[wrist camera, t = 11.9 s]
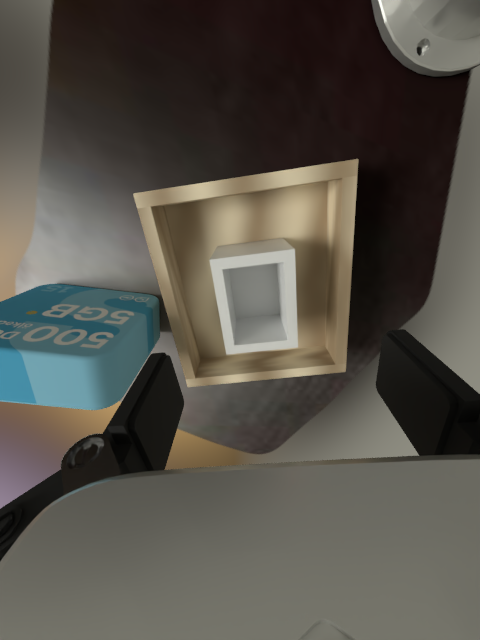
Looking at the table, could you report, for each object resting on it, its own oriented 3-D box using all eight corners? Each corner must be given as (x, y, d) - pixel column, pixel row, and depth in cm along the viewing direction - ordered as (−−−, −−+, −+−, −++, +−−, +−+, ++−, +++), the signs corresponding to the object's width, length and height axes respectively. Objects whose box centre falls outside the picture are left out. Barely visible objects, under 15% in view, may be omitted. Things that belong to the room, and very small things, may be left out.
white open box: (282, 237, 23) (294, 249, 17) (286, 317, 26) (298, 347, 21) (217, 246, 23) (209, 259, 18) (229, 323, 26) (226, 354, 21)
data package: (163, 295, 26) (106, 360, 15) (163, 332, 28) (113, 414, 17) (47, 281, 26) (-96, 339, 15) (55, 320, 28) (-65, 396, 17)
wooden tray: (336, 167, 21) (358, 158, 17) (331, 347, 29) (345, 371, 25) (153, 195, 22) (133, 193, 18) (195, 361, 30) (187, 387, 26)
